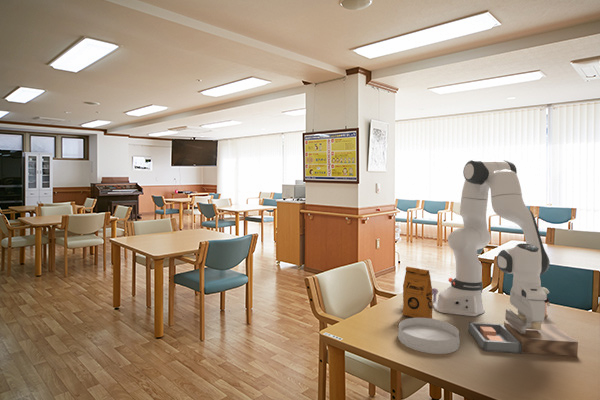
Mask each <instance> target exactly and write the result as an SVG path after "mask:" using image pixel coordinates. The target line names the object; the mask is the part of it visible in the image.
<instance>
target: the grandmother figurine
mask: <svg viewBox="0 0 600 400" xmlns="http://www.w3.org/2000/svg"><path fill="white" fill-rule="evenodd" d="M541 287H542V286H541ZM542 289H543V291H544V292H545V293H546V295H547V296H548V294H550V291H549V289H548V288H546V287H544V286H543V287H542ZM544 302H545V316H544V317H548V314H547V312H548V309H547V307H550V305H551V304H550V300H549V298H548V297H547V299H546V300H544Z"/></svg>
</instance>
